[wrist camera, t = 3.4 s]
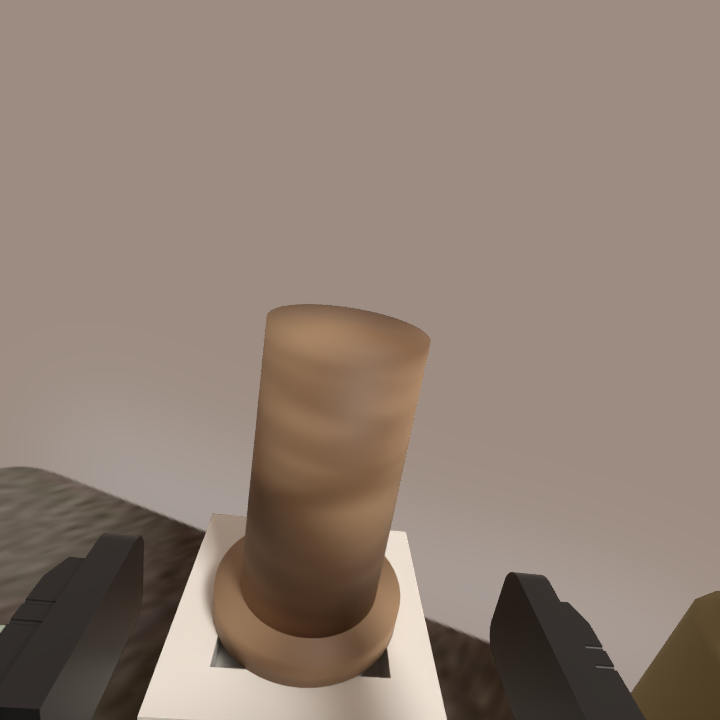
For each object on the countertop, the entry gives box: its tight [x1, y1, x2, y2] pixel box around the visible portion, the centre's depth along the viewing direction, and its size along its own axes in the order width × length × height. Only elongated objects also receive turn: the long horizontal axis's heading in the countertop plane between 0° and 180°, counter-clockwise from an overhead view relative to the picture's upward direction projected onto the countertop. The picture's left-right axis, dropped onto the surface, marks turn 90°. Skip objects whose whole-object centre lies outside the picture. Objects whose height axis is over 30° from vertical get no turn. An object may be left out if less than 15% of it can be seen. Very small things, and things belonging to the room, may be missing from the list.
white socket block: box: [137, 514, 447, 720], centre depth 19 cm, size 9×9×8 cm
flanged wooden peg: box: [212, 304, 430, 688], centre depth 17 cm, size 7×7×12 cm
